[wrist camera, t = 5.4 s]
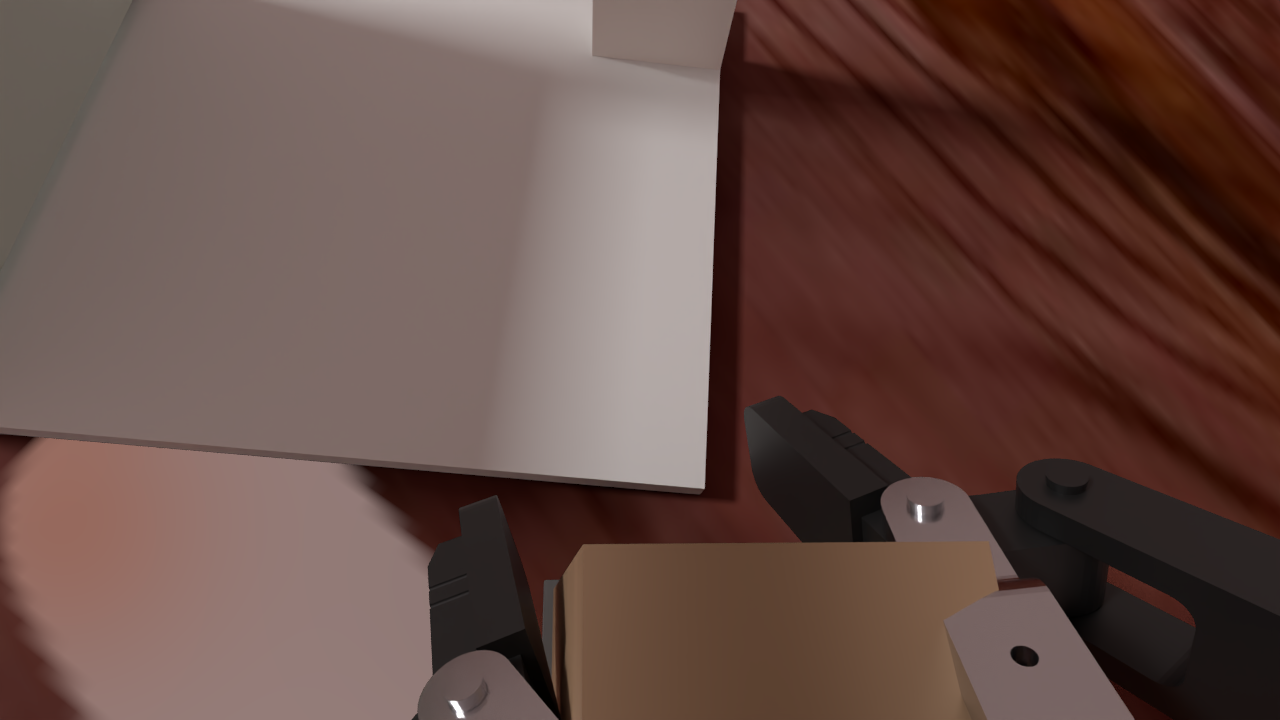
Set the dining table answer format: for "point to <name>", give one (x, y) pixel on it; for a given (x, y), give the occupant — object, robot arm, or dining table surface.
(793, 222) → the dining table surface
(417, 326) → the door frame
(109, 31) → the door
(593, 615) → the tan rectangular block
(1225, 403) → the dining table surface
